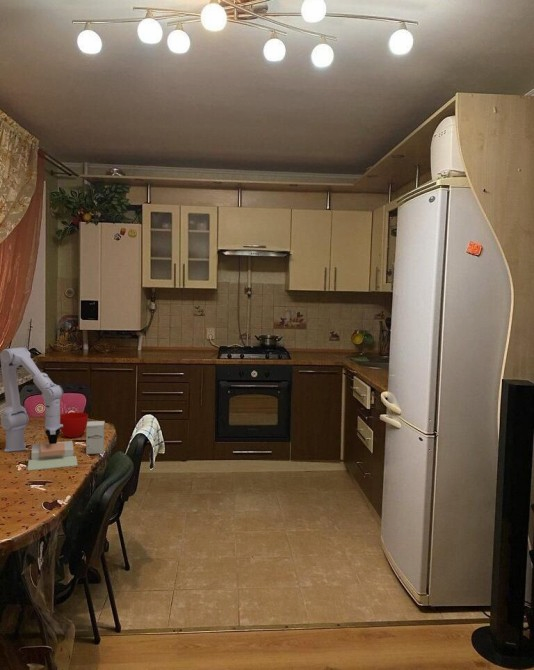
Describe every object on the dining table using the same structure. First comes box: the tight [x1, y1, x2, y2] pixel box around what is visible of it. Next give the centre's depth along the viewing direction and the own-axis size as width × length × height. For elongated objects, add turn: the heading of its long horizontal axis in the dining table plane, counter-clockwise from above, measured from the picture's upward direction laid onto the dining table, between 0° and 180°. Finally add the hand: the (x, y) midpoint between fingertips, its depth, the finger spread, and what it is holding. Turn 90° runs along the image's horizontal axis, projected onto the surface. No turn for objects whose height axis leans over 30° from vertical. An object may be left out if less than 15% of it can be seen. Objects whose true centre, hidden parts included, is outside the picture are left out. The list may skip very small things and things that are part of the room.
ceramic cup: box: [59, 411, 89, 438], centre depth 244 cm, size 13×17×10 cm
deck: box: [30, 440, 75, 460], centre depth 215 cm, size 13×16×3 cm
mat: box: [26, 455, 78, 472], centre depth 203 cm, size 12×18×1 cm, turn 113°
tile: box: [41, 443, 65, 456], centre depth 209 cm, size 6×9×2 cm, turn 113°
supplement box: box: [85, 420, 106, 455], centre depth 220 cm, size 7×7×13 cm
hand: (52, 447), depth 212 cm, fingers closed
